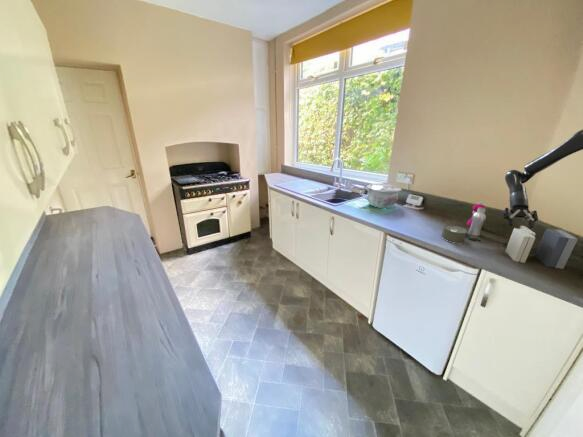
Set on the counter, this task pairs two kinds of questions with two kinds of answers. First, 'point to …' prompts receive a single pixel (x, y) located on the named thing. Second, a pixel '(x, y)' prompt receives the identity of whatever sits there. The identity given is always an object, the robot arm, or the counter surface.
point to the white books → (519, 245)
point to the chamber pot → (381, 195)
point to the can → (454, 233)
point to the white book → (527, 230)
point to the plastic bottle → (477, 223)
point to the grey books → (555, 248)
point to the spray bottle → (475, 211)
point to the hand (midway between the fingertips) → (521, 226)
